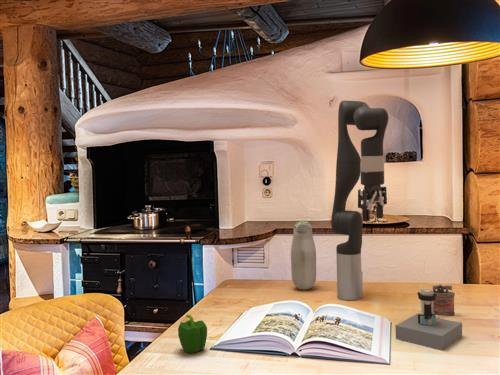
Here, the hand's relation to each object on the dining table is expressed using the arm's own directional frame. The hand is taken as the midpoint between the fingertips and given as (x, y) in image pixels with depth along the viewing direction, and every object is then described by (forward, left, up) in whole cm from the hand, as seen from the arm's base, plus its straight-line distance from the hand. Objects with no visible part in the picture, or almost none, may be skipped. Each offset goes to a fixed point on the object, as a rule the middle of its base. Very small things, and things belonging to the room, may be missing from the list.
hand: (373, 219), depth 166 cm
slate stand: (+5, +21, -33) cm, 40 cm away
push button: (+5, +21, -29) cm, 36 cm away
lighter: (-18, +15, -33) cm, 41 cm away
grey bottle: (-15, -41, -33) cm, 55 cm away
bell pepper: (+56, -26, -33) cm, 70 cm away
